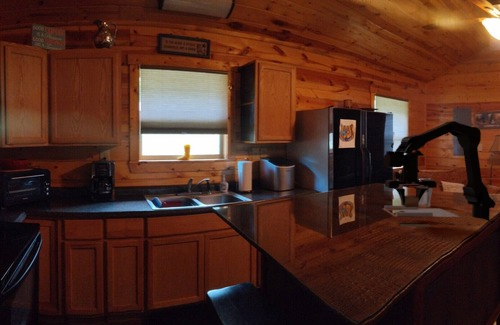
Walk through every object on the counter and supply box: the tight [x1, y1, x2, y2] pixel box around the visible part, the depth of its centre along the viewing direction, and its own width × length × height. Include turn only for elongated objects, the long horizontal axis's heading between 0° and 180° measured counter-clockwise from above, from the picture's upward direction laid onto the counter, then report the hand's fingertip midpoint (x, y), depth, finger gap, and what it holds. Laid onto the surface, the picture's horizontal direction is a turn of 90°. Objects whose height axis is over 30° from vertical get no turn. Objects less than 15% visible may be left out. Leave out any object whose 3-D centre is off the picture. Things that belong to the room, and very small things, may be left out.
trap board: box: [382, 205, 461, 218], centre depth 148 cm, size 17×27×3 cm, turn 85°
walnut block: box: [400, 195, 420, 208], centre depth 134 cm, size 5×5×4 cm
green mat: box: [396, 222, 430, 227], centre depth 134 cm, size 11×11×1 cm
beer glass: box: [418, 177, 433, 208], centre depth 162 cm, size 7×7×15 cm
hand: (409, 204), depth 134 cm, fingers closed on walnut block, 5 cm apart
